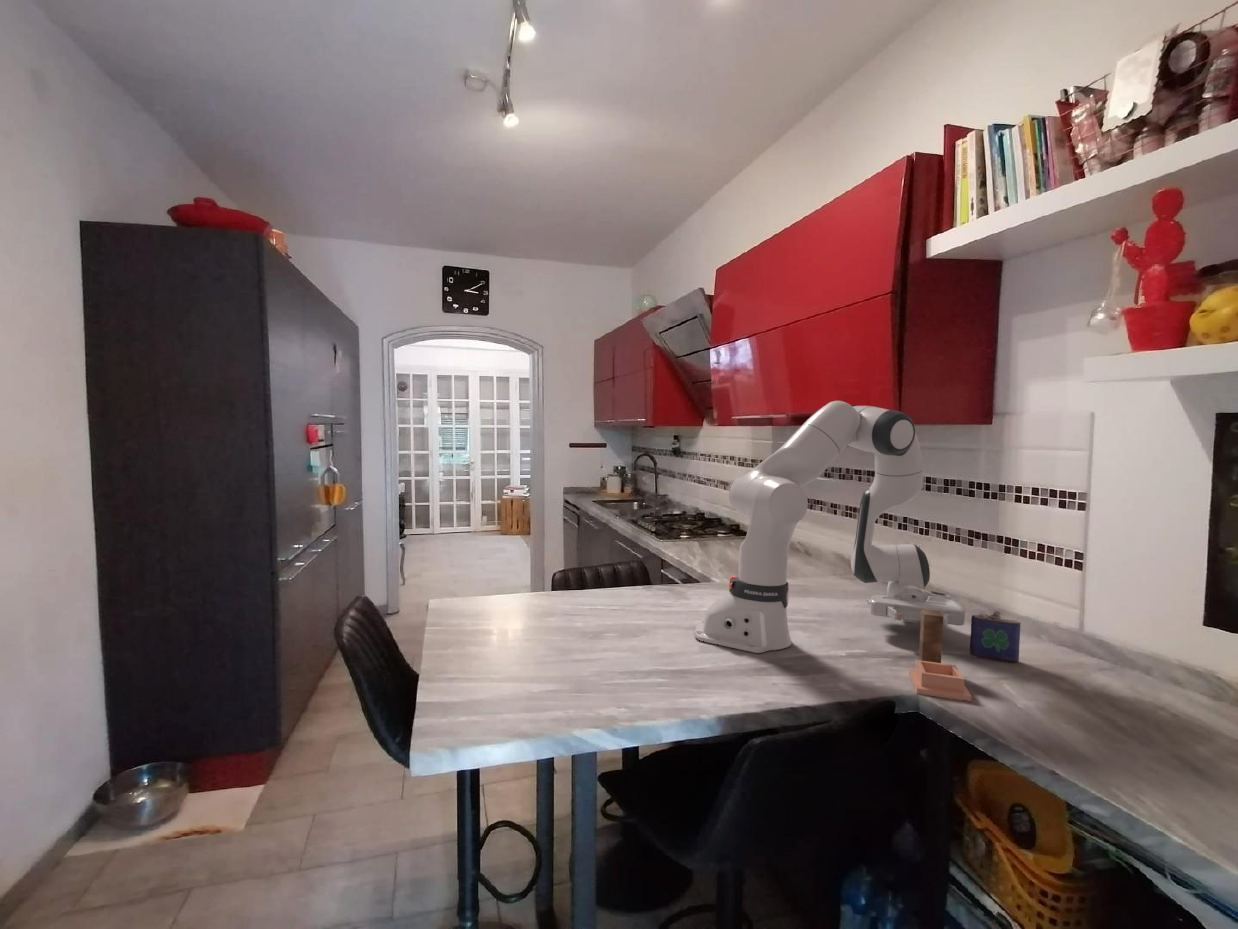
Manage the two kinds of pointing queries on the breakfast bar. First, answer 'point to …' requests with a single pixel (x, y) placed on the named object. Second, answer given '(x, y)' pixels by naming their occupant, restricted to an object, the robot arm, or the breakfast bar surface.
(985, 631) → the flask
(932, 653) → the walnut stick
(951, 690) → the terracotta holder
